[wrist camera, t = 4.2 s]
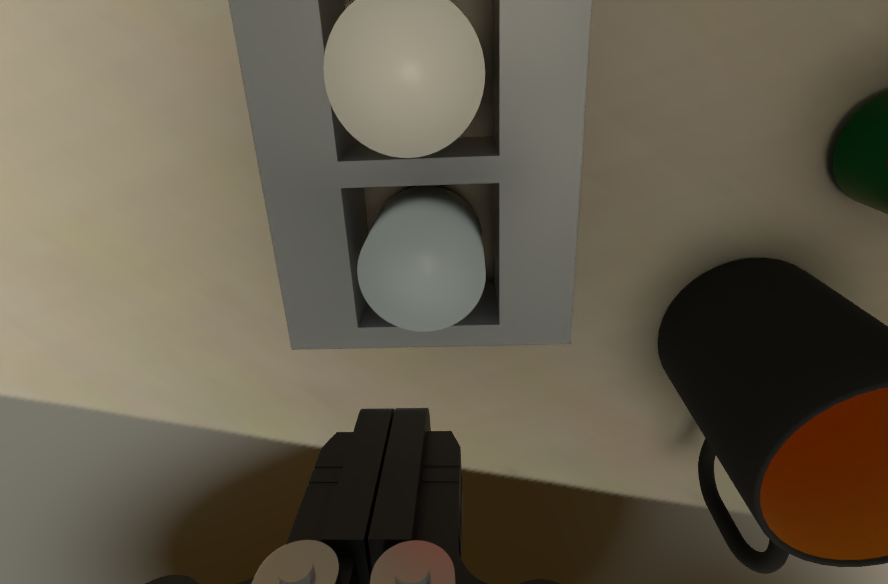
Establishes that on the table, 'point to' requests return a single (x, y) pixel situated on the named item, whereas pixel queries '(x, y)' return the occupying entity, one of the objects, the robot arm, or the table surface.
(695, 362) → the mug
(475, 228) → the pale blue rounded block
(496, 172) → the three-slot peg holder
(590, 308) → the table surface
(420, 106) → the beige rounded block
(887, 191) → the soda can
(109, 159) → the table surface
